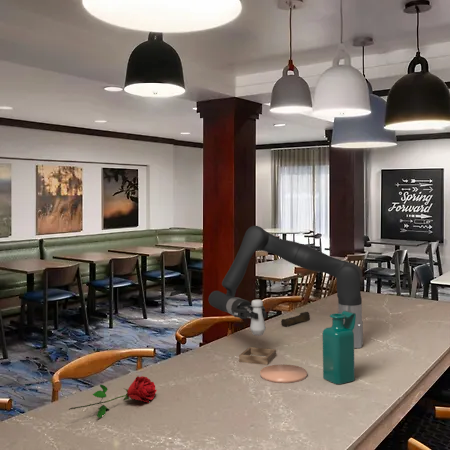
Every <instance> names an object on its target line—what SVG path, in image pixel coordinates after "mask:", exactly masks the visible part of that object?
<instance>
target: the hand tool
mask: <svg viewBox="0 0 450 450" xmlns="http://www.w3.org/2000/svg"><path fill="white" fill-rule="evenodd" d="M310 316H311V315H310V312H309V311H304V312H300V313H299V314H298V315H296V316H291V317H288V318H282V319H281V320H280V323H281V324H280V325H281V326H282V327H284V328H287V327H290V326H292V325H294V324H299V323H306V322H309V321H310V319H311V317H310Z"/></svg>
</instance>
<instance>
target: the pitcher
mask: <svg viewBox="0 0 450 450" xmlns="http://www.w3.org/2000/svg"><path fill="white" fill-rule="evenodd" d="M329 317H330V318H331V319H332V320H331V321H332V323H331V324H332V325H331V326H329V327H326V328H324V329H323V330H322V333H321V334H322V376H323V377H322V378H323V379H324V380H326V381H328V382H331V383H333V384H334V385H343V384H348V383H351V382H353V381H355V377H356V375H355V374H356V373H355V371H356V370H355V348H354V332H353V329H354V326H355V319H356V314H355V313H351V312H348V311H343V312H342V314H339V313H337V312H336V313H331V314H330V315H329ZM344 319H345V322H344Z"/></svg>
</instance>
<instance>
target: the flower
mask: <svg viewBox="0 0 450 450" xmlns="http://www.w3.org/2000/svg"><path fill="white" fill-rule="evenodd" d="M99 387H100V388H101V389H102V390H97V391H95V392H94V393H92V396H94V397H95V398H100V399H101V400H100V401H98V402H96V403H89V404H86V405H80V406H74V407H71V408H68V410H75V409H81V408H86V407H92V406H96V405H101V406H100V407H99V408H98V412H97V414H96V417H97V418H98V419H99V418H100V419H101V417H102V415H104V414H105V415H106V413H107V412H106V410H109V408H108V407H107V406H105V405H104V403H108V402H111V401H114V400H117V399H120V398H123V400H122V401H126V400H129V399H131V400H132V401H134V399H135V400H136V401H141V402H146V403H148V404H149V400H150V401H151V400H153V399H154V398H155V395H156V393H157V391H158V390H157V389H156V385H155V383H154V381H152V380H151V379H150V378H148V377H147V376H142V375H141V376H139V375H137V376H136V378H135V379H134V380H133V381H132V382H131V384H130V385H129V387H128V388H124V390H125V391H126V394H124V395H121V396H117V397H114V398H112V399H109V400H105V401H102V400H103V399H104V398H107V393H106V392H107V391H108V390H109V389H108V387H107V386H105V385H104V384H102V383H101V384H99ZM105 415H104V416H105ZM102 418H103V417H102Z"/></svg>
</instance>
